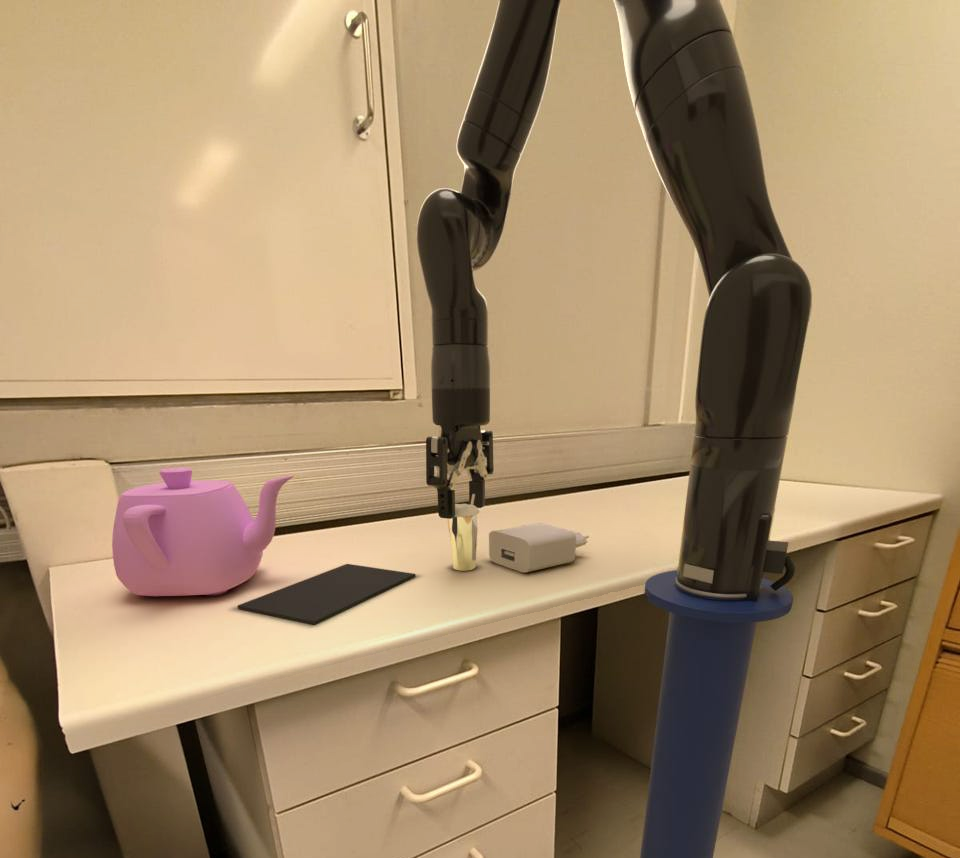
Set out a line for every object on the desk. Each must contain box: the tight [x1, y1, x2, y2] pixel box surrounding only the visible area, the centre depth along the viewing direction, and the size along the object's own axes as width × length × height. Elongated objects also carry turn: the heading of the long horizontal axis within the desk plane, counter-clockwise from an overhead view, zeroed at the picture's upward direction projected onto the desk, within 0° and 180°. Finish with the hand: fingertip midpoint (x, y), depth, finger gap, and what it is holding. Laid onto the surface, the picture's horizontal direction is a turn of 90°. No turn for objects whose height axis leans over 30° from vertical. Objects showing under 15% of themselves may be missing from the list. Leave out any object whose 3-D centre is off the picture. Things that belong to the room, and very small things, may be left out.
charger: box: [488, 522, 590, 574], centre depth 87 cm, size 5×9×15 cm
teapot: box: [111, 467, 295, 597], centre depth 74 cm, size 23×21×15 cm
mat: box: [237, 563, 416, 626], centre depth 75 cm, size 12×20×1 cm, turn 152°
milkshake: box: [446, 494, 480, 572], centre depth 82 cm, size 5×5×10 cm
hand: (462, 512), depth 81 cm, fingers open, 8 cm apart
